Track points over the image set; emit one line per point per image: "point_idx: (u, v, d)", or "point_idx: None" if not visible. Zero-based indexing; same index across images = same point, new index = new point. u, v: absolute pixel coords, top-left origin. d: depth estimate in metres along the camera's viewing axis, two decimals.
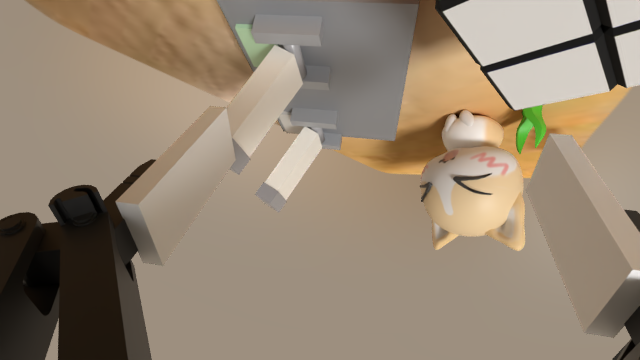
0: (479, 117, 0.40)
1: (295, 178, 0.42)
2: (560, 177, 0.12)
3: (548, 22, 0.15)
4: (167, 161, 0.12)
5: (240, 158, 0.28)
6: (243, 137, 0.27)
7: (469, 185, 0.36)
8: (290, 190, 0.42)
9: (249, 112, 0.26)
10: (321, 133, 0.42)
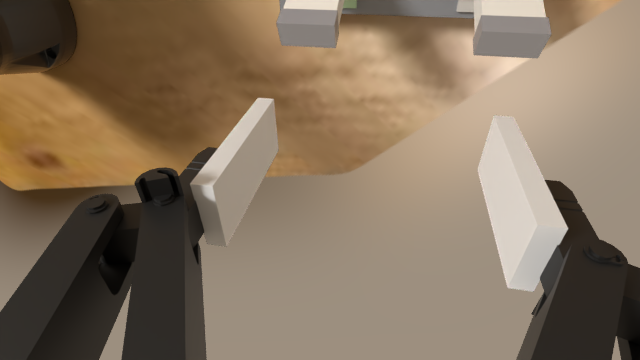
0: None
1: None
2: (498, 154, 0.14)
3: None
4: (229, 147, 0.13)
5: (317, 15, 0.26)
6: (302, 3, 0.27)
7: None
8: (533, 6, 0.25)
9: None
10: None
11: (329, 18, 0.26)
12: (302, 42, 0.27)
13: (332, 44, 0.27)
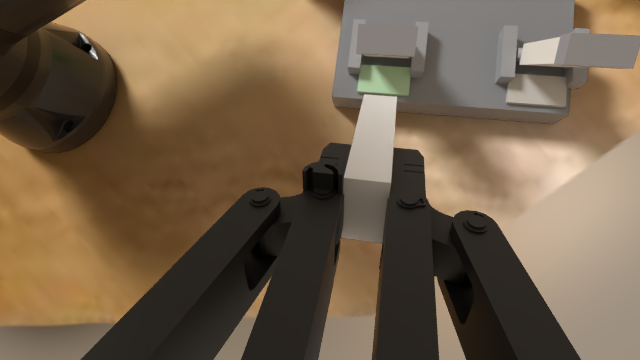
0: None
1: None
2: None
3: None
4: (363, 143, 0.13)
5: None
6: None
7: None
8: None
9: None
10: None
11: None
12: (379, 49, 0.26)
13: (411, 51, 0.26)
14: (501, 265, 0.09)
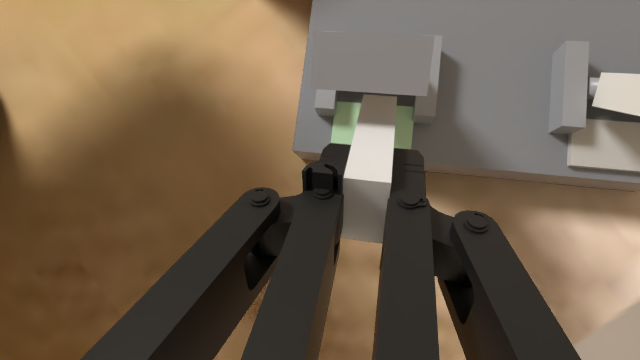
0: None
1: None
2: None
3: None
4: (363, 143, 0.13)
5: None
6: None
7: None
8: None
9: None
10: None
11: None
12: (356, 81, 0.13)
13: (420, 87, 0.13)
14: (501, 265, 0.09)
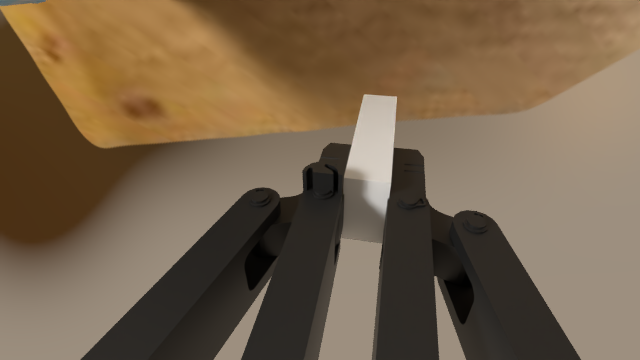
0: None
1: None
2: None
3: None
4: (363, 143, 0.13)
5: None
6: None
7: None
8: None
9: None
10: None
11: None
12: None
13: None
14: (501, 265, 0.09)
